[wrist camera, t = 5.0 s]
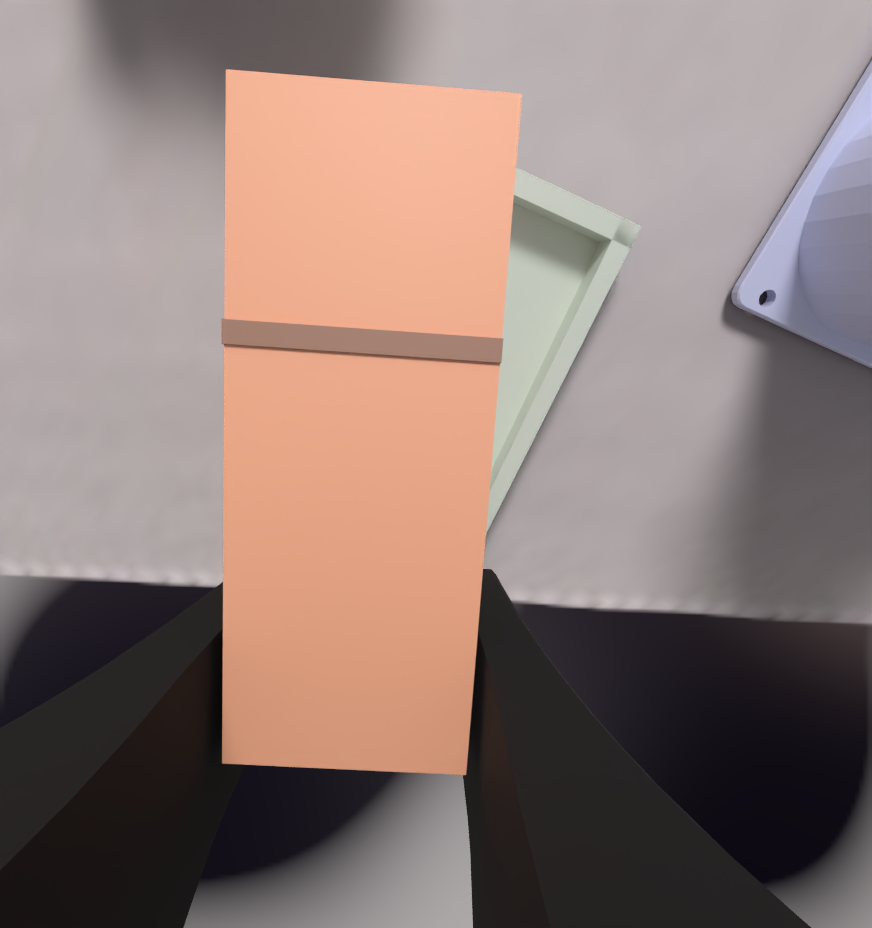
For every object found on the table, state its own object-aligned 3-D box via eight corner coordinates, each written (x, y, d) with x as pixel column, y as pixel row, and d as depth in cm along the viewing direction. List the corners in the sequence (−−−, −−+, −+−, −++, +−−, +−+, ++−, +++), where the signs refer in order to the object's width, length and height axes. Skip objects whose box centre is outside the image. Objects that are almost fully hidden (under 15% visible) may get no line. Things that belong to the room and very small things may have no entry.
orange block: (477, 248, 10) (524, 90, 5) (450, 613, 11) (467, 777, 6) (326, 237, 10) (223, 67, 5) (314, 606, 11) (219, 765, 6)
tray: (620, 231, 14) (641, 226, 12) (461, 557, 18) (463, 579, 17) (389, 123, 13) (383, 104, 11) (284, 499, 17) (271, 518, 16)
